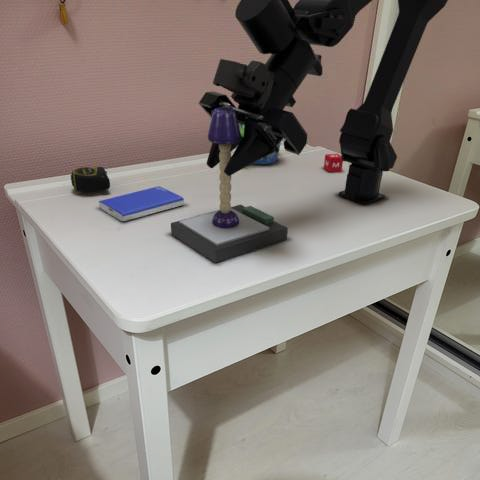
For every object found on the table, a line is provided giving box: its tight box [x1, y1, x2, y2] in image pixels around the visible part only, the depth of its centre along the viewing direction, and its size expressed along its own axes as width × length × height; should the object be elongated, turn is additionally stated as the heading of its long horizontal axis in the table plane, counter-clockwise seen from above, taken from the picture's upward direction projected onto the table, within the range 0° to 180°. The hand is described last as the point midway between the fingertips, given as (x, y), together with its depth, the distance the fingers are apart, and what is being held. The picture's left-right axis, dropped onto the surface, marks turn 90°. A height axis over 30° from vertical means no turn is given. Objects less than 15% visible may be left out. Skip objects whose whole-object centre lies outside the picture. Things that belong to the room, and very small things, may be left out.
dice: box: [323, 153, 344, 173], centre depth 107 cm, size 3×3×3 cm
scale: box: [170, 204, 289, 264], centre depth 77 cm, size 14×12×3 cm
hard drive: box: [98, 185, 185, 222], centre depth 87 cm, size 2×8×12 cm
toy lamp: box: [207, 107, 241, 228], centre depth 71 cm, size 5×5×17 cm
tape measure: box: [70, 166, 111, 194], centre depth 92 cm, size 7×7×4 cm
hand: (217, 170), depth 70 cm, fingers closed on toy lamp, 4 cm apart
